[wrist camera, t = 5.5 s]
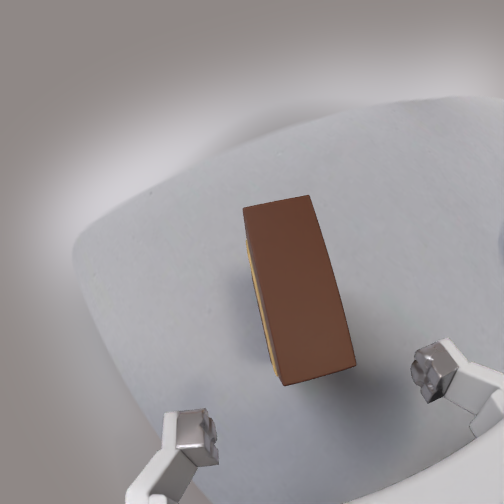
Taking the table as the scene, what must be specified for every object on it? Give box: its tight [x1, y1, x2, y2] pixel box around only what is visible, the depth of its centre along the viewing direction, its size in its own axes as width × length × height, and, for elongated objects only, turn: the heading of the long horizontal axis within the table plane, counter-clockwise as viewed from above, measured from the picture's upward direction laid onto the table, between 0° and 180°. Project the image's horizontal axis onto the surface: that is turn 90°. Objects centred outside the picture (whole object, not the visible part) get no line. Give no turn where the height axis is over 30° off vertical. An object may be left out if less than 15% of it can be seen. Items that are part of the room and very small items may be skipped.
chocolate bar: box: [243, 195, 356, 386], centre depth 14 cm, size 2×6×11 cm, turn 12°
